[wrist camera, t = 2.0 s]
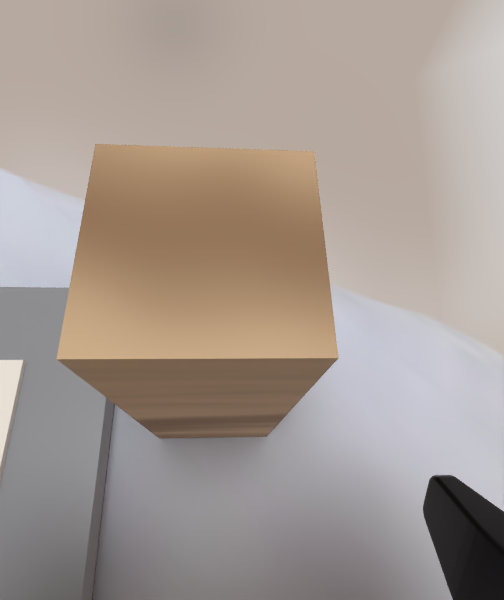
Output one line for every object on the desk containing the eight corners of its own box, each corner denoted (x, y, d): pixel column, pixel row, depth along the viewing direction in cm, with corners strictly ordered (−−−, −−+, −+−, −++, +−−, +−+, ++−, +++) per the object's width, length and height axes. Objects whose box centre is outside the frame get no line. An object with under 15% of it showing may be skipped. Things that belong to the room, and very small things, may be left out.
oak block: (266, 436, 19) (338, 358, 7) (159, 438, 19) (56, 359, 7) (262, 336, 21) (314, 151, 10) (166, 336, 21) (95, 143, 9)
